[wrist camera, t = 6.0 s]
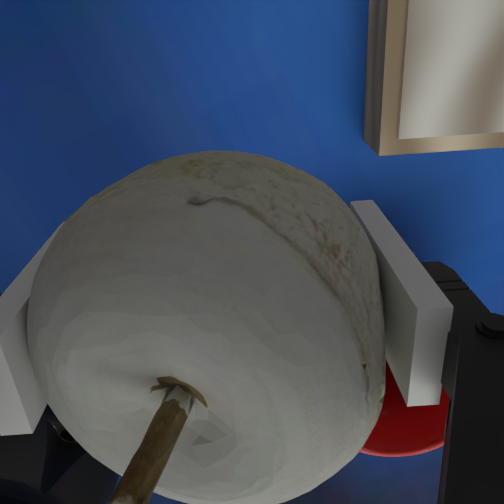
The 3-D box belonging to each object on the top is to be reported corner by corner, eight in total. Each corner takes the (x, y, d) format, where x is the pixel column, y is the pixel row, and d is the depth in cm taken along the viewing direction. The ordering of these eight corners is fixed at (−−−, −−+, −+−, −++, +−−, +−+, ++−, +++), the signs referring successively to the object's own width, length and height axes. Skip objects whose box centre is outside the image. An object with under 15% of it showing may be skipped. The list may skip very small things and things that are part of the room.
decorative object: (398, 231, 17) (583, 474, 8) (234, 378, 19) (233, 684, 11) (204, 49, 14) (148, 105, 5) (44, 250, 17) (-176, 520, 8)
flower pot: (289, 269, 36) (306, 349, 28) (432, 240, 36) (496, 312, 27) (311, 374, 41) (332, 470, 32) (439, 350, 40) (494, 442, 32)
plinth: (363, 140, 32) (380, 157, 28) (373, -116, 26) (397, -139, 22) (569, 125, 32) (615, 140, 28) (630, -134, 26) (698, -160, 22)
